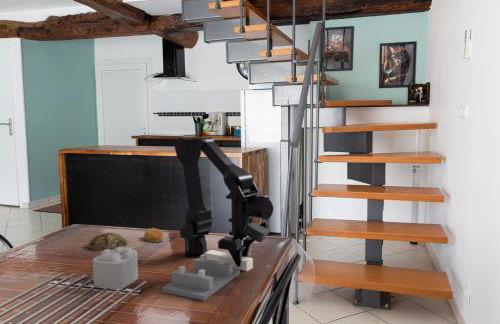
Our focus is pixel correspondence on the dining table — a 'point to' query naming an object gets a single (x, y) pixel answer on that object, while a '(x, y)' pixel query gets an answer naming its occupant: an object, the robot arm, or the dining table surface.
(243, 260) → the clay strip
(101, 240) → the mottled brown rock
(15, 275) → the dining table surface
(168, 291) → the grey pegged plate
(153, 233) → the pastry
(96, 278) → the white lego brick
